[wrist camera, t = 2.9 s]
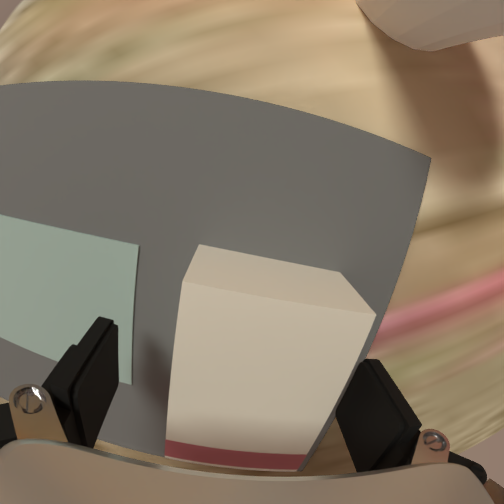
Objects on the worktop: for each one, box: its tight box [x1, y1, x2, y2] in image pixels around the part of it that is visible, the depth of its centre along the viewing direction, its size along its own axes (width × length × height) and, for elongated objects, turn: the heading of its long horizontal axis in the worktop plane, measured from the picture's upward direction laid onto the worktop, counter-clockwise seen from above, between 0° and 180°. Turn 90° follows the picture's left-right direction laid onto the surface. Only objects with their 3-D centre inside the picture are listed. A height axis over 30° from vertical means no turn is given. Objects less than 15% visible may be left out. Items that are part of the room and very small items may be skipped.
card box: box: [164, 244, 376, 472], centre depth 11 cm, size 8×6×4 cm
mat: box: [0, 81, 431, 471], centre depth 12 cm, size 22×19×1 cm
